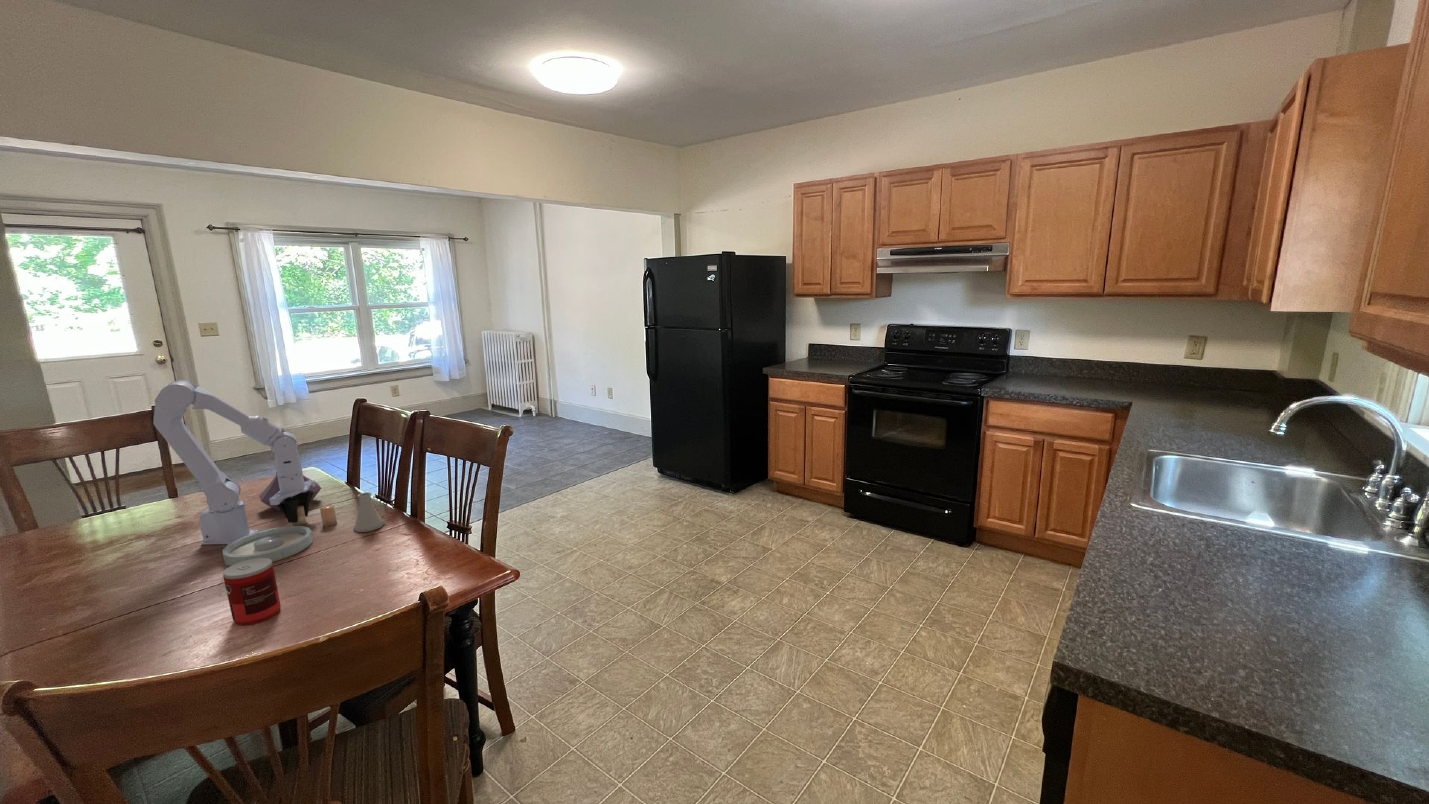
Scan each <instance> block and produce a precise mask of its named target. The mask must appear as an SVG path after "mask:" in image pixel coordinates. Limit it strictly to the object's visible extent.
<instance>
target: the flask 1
mask: <svg viewBox="0 0 1429 804" xmlns="http://www.w3.org/2000/svg"><path fill="white" fill-rule="evenodd" d="M272 453H273V452H272ZM273 455H274V453H273ZM303 478H304V482H306V481H312V479H310V478H309V477H307V476H305V475H304V474H303ZM321 490H322V487H321V486H320V484H319V483H318V482H316V481H315V487H313V488H309V490H308V491H313V496H312V498H311V500H310V504H311V503H312V501H314V499H315V497H316V496H318V494H319V492H320V491H321ZM279 491H280V487H279V482H278V477H277V472H275V476H274V477H273V479H272V480H271V481H270V483H269V484H268V485H267V486H266V487H265V488H264V490H263V491H262V492H261V493H260V495H259V496H258V497H259V499H260V502H261V503H263V504H265V505H266V506H268V507H270V508H272V509H273V510H276V511H281V509H280V508H279V507H277V506H276V505H270V501H269V498H271V497H273V496H274V495H276V494H277V493H278V492H279ZM291 499H292V497H291Z"/></svg>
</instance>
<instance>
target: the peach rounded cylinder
mask: <svg viewBox="0 0 1429 804" xmlns="http://www.w3.org/2000/svg"><path fill="white" fill-rule="evenodd" d="M319 511H320V516H321V522H322V523H321V524H322V526H323V527H330V526H334V525H336V524H338V520H337V515H336V514H337V512H336V508H335V505H334V504H333V505H332V504H330V505H325V506H322V507H320V508H319Z"/></svg>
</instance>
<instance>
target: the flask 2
mask: <svg viewBox="0 0 1429 804" xmlns="http://www.w3.org/2000/svg"><path fill="white" fill-rule="evenodd" d="M371 495H372V492H369V491H368V492H362V493H359V494H358V495H357V496H356V497H357V498H358V501H359V502H358V503H359V504H358V505H359V506H358V510H357V511H358V512H357V516H356V519H355V523H354V525H353V531H355V532H358V533H364V532H365V533H366V532H367V533H368V532H372V531H375V530H378V529H380V528H382V527H383V526H384V525H385V524H386V522H385V521H384V520H383V518H382V517H381V515H380V513H379V512H378V511H377V508H376V507H375V506H374V503H373V500H372V496H371Z"/></svg>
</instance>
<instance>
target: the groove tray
mask: <svg viewBox="0 0 1429 804" xmlns="http://www.w3.org/2000/svg"><path fill="white" fill-rule="evenodd" d="M312 532H313V531H312V529H310V527H308V526H304V525H301V526H292V525H286V526H279V527H274V528H268V529H264V530H261V531H259V532H256V533H253V534H250V535H247V536H245V537H242V538H239V539H237V540H235V541H234V542H232V543H230V544H226V546H225V547H224V548H223V549H222V556H223V560H224V564H225V565H227V566H229V567H230V566H232V565H234V564H236V563H239V562H242V561H246V560H250V559H256V558H268V559H271V561H272V563H273V562H277V561H279V560H283V559H286V558H289V557H291V556H293V555H296V554H298V553H300V552H301V551H303V550H305V549H306V548H308V547H310V546H311V544H312V543H313V541H314V537H313V533H312Z"/></svg>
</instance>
